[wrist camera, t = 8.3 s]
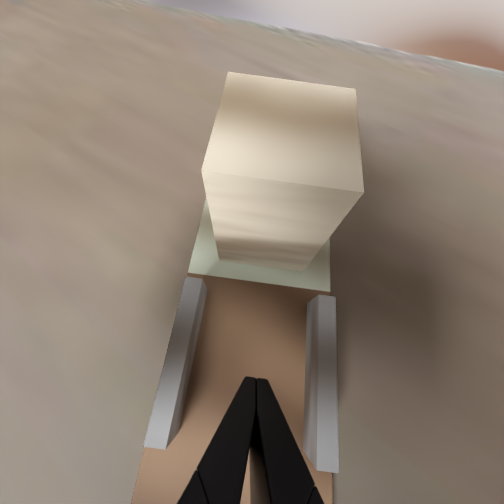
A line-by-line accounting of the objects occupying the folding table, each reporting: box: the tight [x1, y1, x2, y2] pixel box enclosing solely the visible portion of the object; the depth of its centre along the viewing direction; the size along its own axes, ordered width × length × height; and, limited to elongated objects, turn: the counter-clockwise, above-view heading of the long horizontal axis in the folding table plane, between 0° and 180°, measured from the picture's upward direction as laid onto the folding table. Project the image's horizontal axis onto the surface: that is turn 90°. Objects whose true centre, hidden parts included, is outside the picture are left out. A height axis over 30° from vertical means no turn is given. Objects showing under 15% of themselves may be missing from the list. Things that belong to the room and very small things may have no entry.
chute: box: [131, 197, 339, 504], centre depth 14 cm, size 22×10×3 cm, turn 173°
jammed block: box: [201, 72, 364, 272], centre depth 14 cm, size 6×6×9 cm
